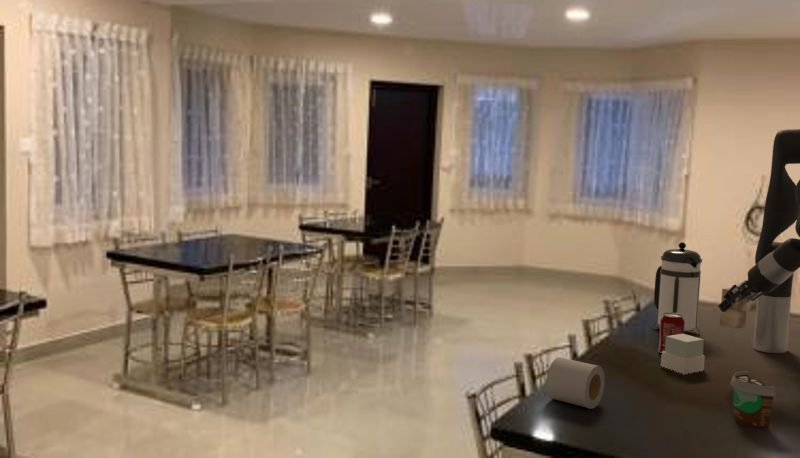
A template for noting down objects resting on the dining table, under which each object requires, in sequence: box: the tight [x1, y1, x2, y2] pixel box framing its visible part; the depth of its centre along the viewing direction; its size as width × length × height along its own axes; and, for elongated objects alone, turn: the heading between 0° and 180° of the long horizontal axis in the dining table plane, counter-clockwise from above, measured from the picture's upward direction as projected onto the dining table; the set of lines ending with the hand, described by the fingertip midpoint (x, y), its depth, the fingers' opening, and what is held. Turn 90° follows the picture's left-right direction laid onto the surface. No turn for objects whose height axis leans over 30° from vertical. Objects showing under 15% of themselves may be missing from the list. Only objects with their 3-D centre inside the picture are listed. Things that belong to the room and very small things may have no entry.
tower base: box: [660, 351, 706, 375], centre depth 218 cm, size 8×8×4 cm
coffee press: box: [652, 241, 703, 335], centre depth 261 cm, size 17×16×30 cm
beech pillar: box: [719, 287, 748, 330], centre depth 211 cm, size 4×4×10 cm
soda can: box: [657, 313, 685, 354], centre depth 233 cm, size 7×7×12 cm
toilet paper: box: [545, 356, 606, 410], centre depth 187 cm, size 10×10×10 cm
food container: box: [730, 370, 776, 430], centre depth 177 cm, size 12×6×10 cm, turn 5°
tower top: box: [665, 333, 705, 358], centre depth 218 cm, size 7×7×4 cm
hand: (727, 307), depth 213 cm, fingers closed on beech pillar, 4 cm apart
